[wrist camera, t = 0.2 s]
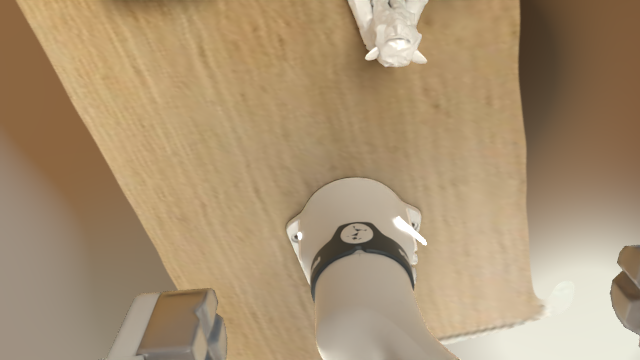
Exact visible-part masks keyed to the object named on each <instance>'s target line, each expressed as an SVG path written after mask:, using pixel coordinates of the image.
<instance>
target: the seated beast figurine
mask: <svg viewBox="0 0 640 360" xmlns="http://www.w3.org/2000/svg"><path fill="white" fill-rule="evenodd" d="M347 1H348V4H349V6H350V7H351V9H352V12H353V16H354V17H355V19H356V22H357V26H358V27H359V28H360V29H359V30H360V33H361V37H362V38H363V43H364V44H366V49H368V50H369V51H370V52H369V53H368V54H367V55H366V57H365V59H366V60H374V59H375V58H376V59H377V60H378V62H379V63H381V64H383V65H384V66H385V67H388V66H393V67H403V66H407V65H409V64H410V62H411V61H413V62H415V63H418V64H423V63H427V60H426V58H425V57H424V56H423V55H422V54H421V53H420V52H419V51H418V50H417V48H418V46H419V44H420V41H421V39H422V35H421V34H420V33H418V31H417V28H416V26H417V24H418V20H419V19H420V14H421V13H422V10H423V8H424V7H425V5H426V4H427V3H428V1H429V0H406V1H404V0H371V3H370V0H347ZM388 3H389V4H388ZM371 5H372V6H373V7H372V6H371ZM389 5H390V6H391V8H390V6H389Z"/></svg>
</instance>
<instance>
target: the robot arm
mask: <svg viewBox="0 0 640 360" xmlns="http://www.w3.org/2000/svg"><path fill="white" fill-rule="evenodd" d="M412 223H413V224H412ZM420 223H421V213H420V211H419V210H418V209H417V208H415V207H414V206H411V205H409V204H407V203H404V202H403V201H402V200H401V199H400V198H399V197H398V196H397V195H396V194H395V193H394V192H393V191H392V190H391V189H390V188H388V187H387V186H386V185H384V184H382V183H380V182H378V181H375V180H372V179H367V178H359V177H352V178H344V179H340V180H336V181H333V182H331V183H329V184H327V185H325V186H323V187H322V188H320V189H319V190H318V191H317V192H315V193H314V194H313V195H312V197H311V198H310V199H309V200H308V202H307V204H306V205H305V207H304V209H303V210H302V212H301V213H300V214H299V215H297V216H296V217H294V218H293V219H292V220H290V221H289V222H288V224H287V225H286V231H287V235H288V237H289V239H290V242H291V244H292V246H293V249H294V251H295V253H296V256H297V258H298V260H299V262H300V265H301V267H302V269H303V272H304V274H305V276H306V278H307V281H308V283H309V285H310V288H311V294H312V298H313V301H314V303H315V340H316V345H317V348H318V351H319V353H320V355H321V357H322V358H323V360H460V359H459V358H458V357H456V356H455V355H454V354H453V353H451V352H450V351H449V350H448V349H447V348H446V347H444V346H443V345H442V344H441V343H440V342H439V341H438V340H437V339H436V337H435V336H434V335H433V334H432V333H431V331H430V330H429V328H428V327H427V325H426V323H425V321H424V319H423V316H422V314H421V311H420V309H419V306H418V304H417V301H416V298H415V295H414V283H416V269H415V268H414V267H412V266H411V265H412V264H417V261H418V257H417V254H414V252H415V251H416V250H417V243H416V241H417V239H418V240H419V241H420V242H421V243H423V244H424V245H426V241H425V239H423V238H422V237H421V236H420V235H419V234H418V232H419V228H420ZM295 235H298V237H297V236H295ZM617 263H618V265H619V266H620V267H621V268H622V270H623V271H622V272H621V273H620V274H618V275H617V276H616V277H615V278H614V279H613V281H612V286H611V291H610V295H611V301H612V307H613V309H614V311H615V313H616V315H617V317H618V319H619V320H620V321H621V323H622V324H623V326H624V327H625V328H627V329H629V330H631V331H632V332H634V333H636V334H638V335H640V245H631V246H625V247H624V248H623V249H622V250H621V251H620V253H619V257H618V261H617ZM217 306H218V300H217V297H216V294H215V291H214V290H213V289H211V288H204V289H191V290H178V291H167V292H162V293H161V292H160V293H146V294H139V295H138V296H136V297H135V298H134V299H133V301H132V304H131V306H130V308H129V310H128V312H127V314H126V316H125V319H124V321H123V323H122V325H121V327H120V329H119V331H118V334H117V336H116V338H115V340H114V342H113V344H112V347H111V349H110V351H109V353H108V355H107V357H106V359H98V360H226V355H227V334H226V327H225V323H224V320H223V318H222V317H221V316H219V315H218V314H217V313H216V310H217ZM639 347H640V340H639Z"/></svg>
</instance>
